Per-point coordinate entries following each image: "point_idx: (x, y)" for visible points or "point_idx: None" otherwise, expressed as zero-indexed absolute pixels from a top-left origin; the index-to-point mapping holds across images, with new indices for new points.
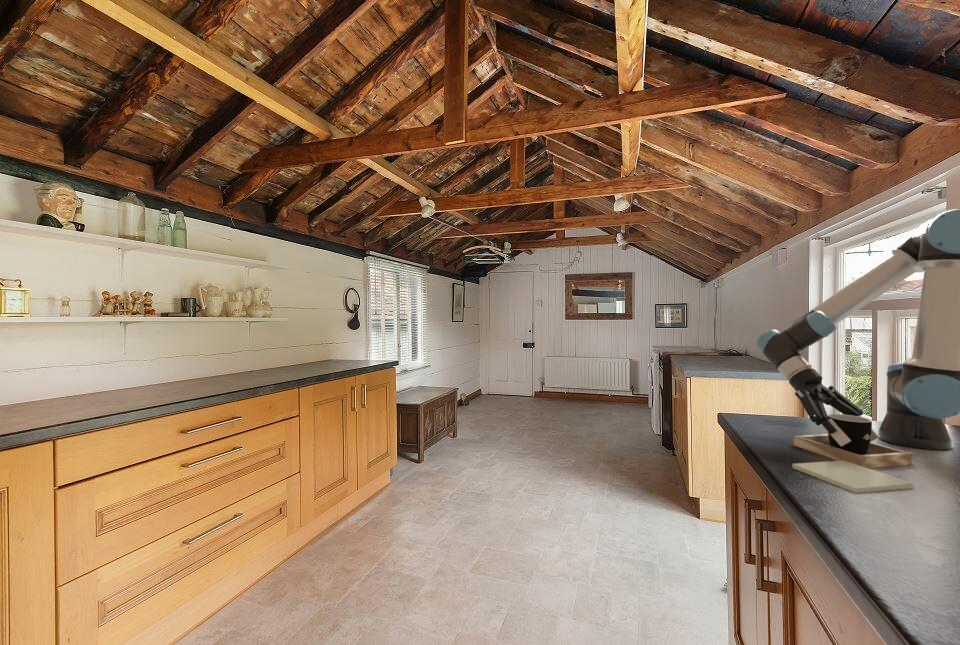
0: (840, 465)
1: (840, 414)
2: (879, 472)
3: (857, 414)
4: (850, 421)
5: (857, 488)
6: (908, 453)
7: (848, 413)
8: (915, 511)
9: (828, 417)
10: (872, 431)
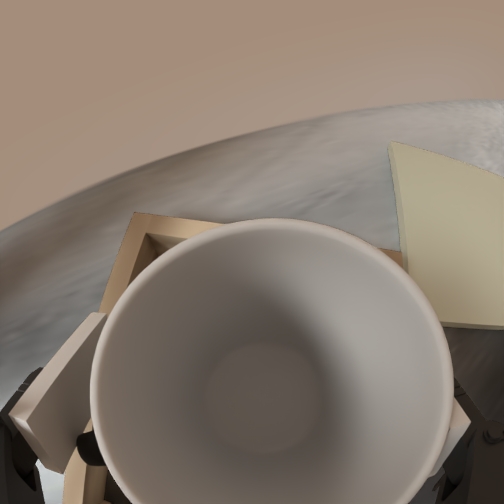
0: (463, 280)
1: None
2: (404, 202)
3: (6, 434)
4: (418, 286)
5: None
6: (148, 216)
7: (31, 496)
8: (469, 125)
9: (414, 489)
10: (89, 338)
